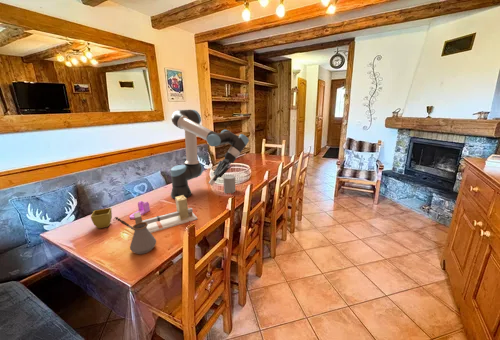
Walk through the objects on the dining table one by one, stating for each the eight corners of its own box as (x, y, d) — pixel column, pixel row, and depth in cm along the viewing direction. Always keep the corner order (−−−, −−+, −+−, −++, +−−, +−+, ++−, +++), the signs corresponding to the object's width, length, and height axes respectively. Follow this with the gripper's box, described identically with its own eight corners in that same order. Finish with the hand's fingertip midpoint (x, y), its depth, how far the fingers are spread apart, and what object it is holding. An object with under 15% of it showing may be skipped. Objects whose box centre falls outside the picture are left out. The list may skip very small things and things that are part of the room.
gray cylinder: (233, 193, 171) (233, 179, 167) (222, 193, 173) (221, 178, 169) (237, 189, 180) (236, 175, 176) (226, 189, 182) (225, 175, 178)
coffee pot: (162, 244, 108) (158, 217, 104) (144, 259, 98) (139, 229, 94) (129, 237, 115) (124, 211, 111) (109, 250, 105) (103, 222, 101)
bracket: (143, 209, 148) (141, 200, 146) (150, 210, 146) (148, 201, 144) (127, 218, 136) (125, 208, 134) (134, 219, 134) (133, 209, 132)
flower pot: (97, 223, 130) (94, 210, 127) (114, 220, 133) (111, 207, 131) (93, 231, 122) (90, 216, 120) (111, 227, 125) (108, 213, 123)
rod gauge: (135, 227, 124) (132, 212, 122) (191, 212, 141) (190, 198, 139) (137, 236, 115) (134, 219, 113) (197, 219, 132) (195, 204, 130)
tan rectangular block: (177, 215, 134) (175, 196, 131) (185, 212, 137) (183, 195, 134) (180, 219, 129) (178, 200, 125) (188, 217, 131) (186, 198, 128)
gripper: (240, 160, 139) (218, 190, 135) (230, 156, 150) (210, 184, 145) (232, 153, 135) (209, 183, 131) (223, 150, 145) (202, 178, 141)
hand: (210, 184), depth 138 cm, fingers closed
